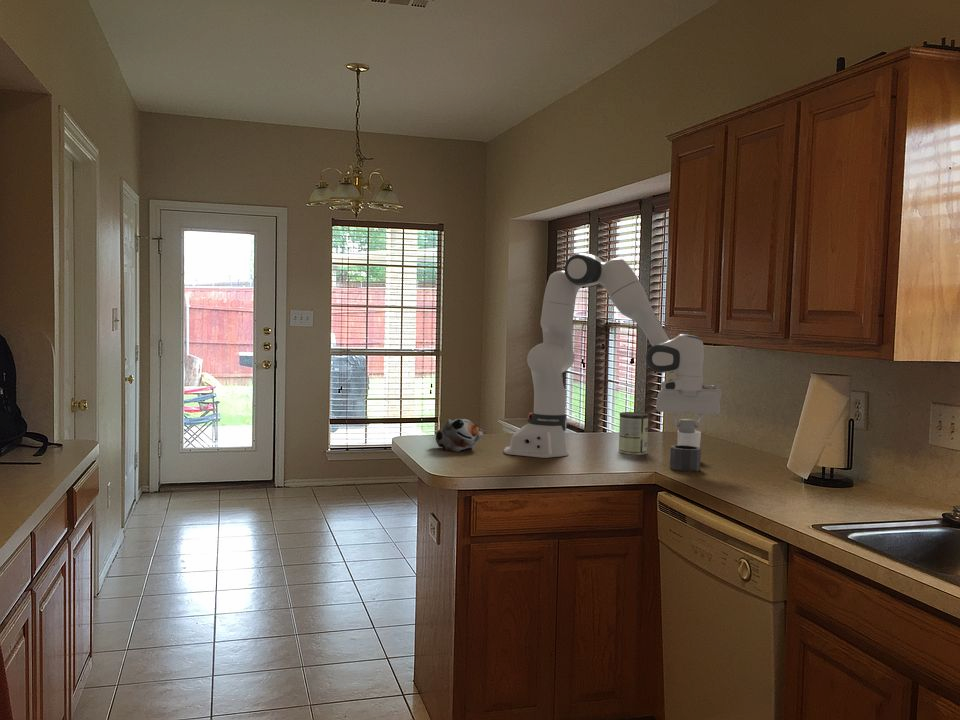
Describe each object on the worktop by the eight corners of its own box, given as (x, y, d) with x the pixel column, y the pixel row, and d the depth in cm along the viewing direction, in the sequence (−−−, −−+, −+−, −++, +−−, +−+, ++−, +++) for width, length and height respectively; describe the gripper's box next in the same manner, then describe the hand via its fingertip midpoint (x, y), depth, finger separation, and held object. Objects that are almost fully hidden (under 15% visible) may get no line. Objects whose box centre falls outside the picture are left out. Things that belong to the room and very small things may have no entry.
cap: (679, 432, 270) (679, 420, 270) (678, 430, 275) (679, 418, 275) (695, 433, 269) (695, 421, 269) (694, 431, 274) (694, 419, 274)
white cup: (700, 462, 285) (701, 433, 285) (676, 461, 287) (677, 432, 286) (699, 458, 293) (700, 430, 293) (675, 457, 295) (677, 429, 294)
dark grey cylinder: (670, 470, 269) (671, 448, 269) (669, 465, 278) (670, 444, 278) (700, 472, 267) (701, 450, 267) (698, 467, 276) (699, 446, 276)
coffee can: (617, 449, 308) (618, 411, 307) (645, 450, 307) (647, 412, 306) (619, 454, 298) (620, 414, 297) (648, 455, 297) (650, 415, 296)
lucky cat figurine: (472, 445, 305) (486, 414, 299) (473, 464, 294) (487, 432, 289) (433, 433, 302) (446, 402, 297) (432, 452, 292) (446, 419, 286)
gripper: (721, 384, 272) (719, 427, 273) (656, 382, 276) (655, 424, 277) (722, 386, 266) (721, 429, 267) (657, 383, 270) (655, 426, 271)
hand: (686, 426), depth 272 cm, fingers closed on cap, 5 cm apart
